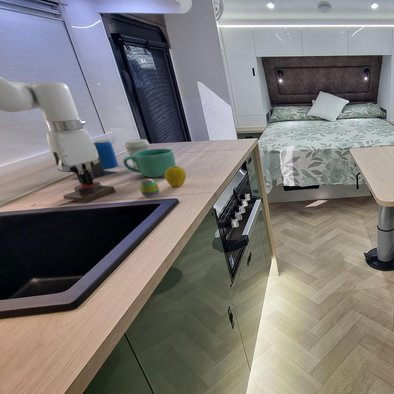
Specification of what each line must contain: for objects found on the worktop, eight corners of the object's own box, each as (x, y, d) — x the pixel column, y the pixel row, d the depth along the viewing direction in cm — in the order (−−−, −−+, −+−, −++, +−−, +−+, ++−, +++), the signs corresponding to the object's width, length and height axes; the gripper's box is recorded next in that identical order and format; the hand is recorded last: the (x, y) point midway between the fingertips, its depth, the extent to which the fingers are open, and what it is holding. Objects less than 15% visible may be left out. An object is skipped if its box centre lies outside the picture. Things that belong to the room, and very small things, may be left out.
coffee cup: (130, 172, 120) (121, 143, 115) (133, 167, 127) (125, 140, 122) (154, 169, 124) (147, 141, 119) (156, 164, 131) (148, 138, 126)
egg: (143, 200, 91) (137, 182, 89) (142, 195, 95) (137, 178, 93) (161, 196, 94) (156, 179, 92) (159, 192, 98) (155, 175, 95)
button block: (84, 204, 89) (79, 191, 88) (65, 201, 91) (60, 189, 89) (116, 192, 98) (112, 181, 97) (98, 190, 100) (94, 179, 98)
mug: (179, 169, 123) (173, 147, 120) (176, 177, 113) (170, 153, 109) (132, 174, 117) (125, 151, 113) (125, 183, 106) (117, 158, 103)
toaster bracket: (89, 183, 108) (77, 149, 103) (71, 181, 110) (58, 148, 105) (118, 174, 117) (108, 143, 113) (101, 173, 120) (90, 142, 115)
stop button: (87, 192, 92) (85, 187, 91) (78, 191, 92) (76, 186, 92) (98, 188, 95) (97, 183, 94) (90, 187, 96) (88, 182, 95)
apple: (171, 190, 99) (166, 168, 96) (165, 186, 103) (159, 164, 100) (191, 185, 104) (186, 164, 101) (184, 182, 107) (179, 161, 104)
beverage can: (103, 167, 127) (94, 140, 122) (121, 166, 129) (112, 139, 124) (97, 171, 121) (87, 143, 117) (116, 170, 123) (106, 142, 119)
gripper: (83, 122, 94) (102, 176, 101) (25, 130, 80) (52, 192, 87) (100, 123, 92) (119, 178, 99) (44, 131, 78) (70, 193, 85)
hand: (87, 184), depth 93 cm, fingers closed
